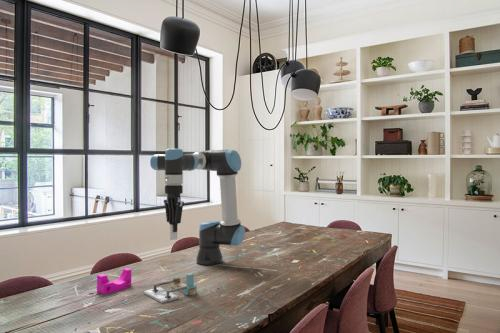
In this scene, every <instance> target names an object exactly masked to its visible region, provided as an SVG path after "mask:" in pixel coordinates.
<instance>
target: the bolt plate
mask: <svg viewBox="0 0 500 333" xmlns="http://www.w3.org/2000/svg"><path fill="white" fill-rule="evenodd" d="M167 290H168V289H165V288H163V287H162V286H159V287H158V286H157V290H154V288H151V289H147V290H143V294H144V295H145V296H147V297H149V298H150V299H153V300H155V301H157V302H159V303H160V304H165V303H169V302H172V301H176V300H178V299H180V296H179V295H178V294H175V293H173V292H170V293H169V297H167V293H166V291H167Z"/></svg>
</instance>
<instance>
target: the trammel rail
mask: <svg viewBox="0 0 500 333" xmlns="http://www.w3.org/2000/svg"><path fill="white" fill-rule="evenodd" d="M168 284H170V288H172V289H175V288H179V287H183V286H185V285H187V283H186V284H185V283H183V282H181V277H174V278H173V279H171V280H167V281H162V282H160V283H155V284H153V289H154V290H157V288H158V286H159V287H161V286H163V285H168ZM178 291H179V292H181V293H183V289H182V290H178ZM196 294H197V293H196V289H195V288H192V289H189V295H188V296H194V295H196Z"/></svg>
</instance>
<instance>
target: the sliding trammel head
mask: <svg viewBox="0 0 500 333" xmlns="http://www.w3.org/2000/svg"><path fill="white" fill-rule="evenodd" d="M194 274H195V273H192V272H190V273H189V272H188V273H186V285H185V286H183V287H179V288H175V289H174V288H172V289H166V290H167V291H166V293H167V297H169V293H170V292H171V293H173V292H177V291H179V290H182V289H183V292H182V293H183V295H186V296H190V295H189V289H192V288H195V289H196V294H197V293H198V287H197V284H195V282H194V281H195V278H194V277H195V276H194Z"/></svg>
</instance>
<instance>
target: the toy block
mask: <svg viewBox="0 0 500 333" xmlns="http://www.w3.org/2000/svg"><path fill="white" fill-rule="evenodd" d="M128 286H129V287H130V286H132V269H131V268H127V267H126V268H123V269H122V272H121V274H120V275H119V277H118V278H117V279H115V280H113V281H110V279H109V278H108V275H107V274H104V273H100V274H97V275H96V292H97V293H100V294H102V295H107V294H108V295H109V294H112V293H115V292H118V291H122V290H125V289H126V288H127V287H128Z"/></svg>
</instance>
